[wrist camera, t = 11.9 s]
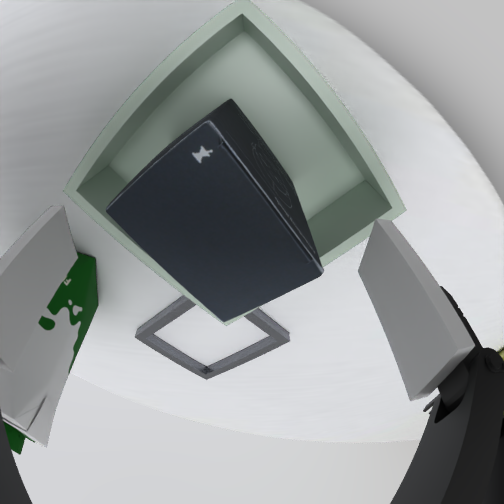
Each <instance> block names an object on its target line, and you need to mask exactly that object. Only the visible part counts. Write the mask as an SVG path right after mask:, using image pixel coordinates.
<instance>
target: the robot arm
mask: <svg viewBox="0 0 504 504" xmlns="http://www.w3.org/2000/svg"><path fill="white" fill-rule="evenodd" d="M77 259H78V256H77V252H76V249H75V246H74V242H73V239H72V236H71V232H70V228H69V224H68V221H67V217H66V212H65V208H64V206H51V207H50V208H49V209H48V210H47V211H46V212H44V213H43V214H42V215H41V216H40V217H39V218H38V219H37V220H36V221H35V222H34V223H33V224H32V225H31V226H30V227H29V228H28V229H27V230H26V231H25V232H24V233H23V234H22V235H21V237H20V238H19V239H18V240H17V241H16V242H15V243H14V244H13V245H12V246H11V247H10V249H9V250H8V251H7V252H6V253H5V254H4V255H3V257H2V258H1V259H0V367H1V368H3V369H6V370H8V371H10V372H12V373H13V372H14V370H15V368H16V366H17V363H18V361H19V359H20V357H21V355H22V353H23V351H24V349H25V346H26V344H27V342H28V340H29V339H30V337H31V335H32V333H33V331H34V329H35V327H36V325H37V323H38V322H39V320H40V318H41V316H42V314H43V313H44V311H45V309H46V307H47V306H48V304H49V302H50V301H51V299H52V297H53V296H54V294H55V292H56V291H57V289H58V287H59V286H60V284H61V283H62V281H63V280H64V278H65V276H66V275H67V273H68V272H69V270H70V269H71V267H72V266H73V264H74V263H75V261H76V260H77ZM358 273H359V275H360V277H361V279H362V281H363V283H364V286H365V288H366V290H367V292H368V294H369V297H370V299H371V301H372V303H373V306H374V308H375V310H376V313H377V315H378V317H379V320H380V322H381V324H382V327H383V329H384V332H385V334H386V336H387V339H388V341H389V344H390V347H391V349H392V352H393V354H394V357H395V360H396V362H397V365H398V368H399V370H400V373H401V376H402V379H403V381H404V384H405V387H406V390H407V393H408V396H409V399H410V401H412V400H416V399H420V398H424V397H427V396H428V395H430V394H431V393H432V392H433V391H434V390H435V389H436V388H437V387H438V390H439V392H440V394H439V395H438V396H437V397H435V398H434V399H433V400H432V401H431V402H430V403H429V404H428V405H427V406H426V407H425V408H424V410H423V411H424V412H426V411H427V410H428V409H429V408H431V407H432V406H433V407H432V411H430V412H429V414H430V417H429V419H428V422H427V425H426V428H425V431H424V433H423V436H422V438H421V441H420V443H419V446H418V448H417V451H416V453H415V455H414V458H413V460H412V462H411V464H410V466H409V469H408V471H407V473H406V475H405V477H404V479H403V481H402V483H401V485H400V487H399V489H398V490H397V492H396V494H395V496H394V498H393V500H392V501H391V503H390V504H504V360H503V358H502V357H501V356H500V354H499V353H498V352H496V351H495V350H494V349H491V348H483V347H482V346H481V344H480V342H479V340H478V338H477V337H476V335H475V333H474V331H473V330H472V328H471V326H470V325H469V323H468V321H467V319H466V318H465V317H463V313H462V311H461V310H460V308H458V305H457V303H456V302H455V300H454V299H453V297H452V296H451V295H450V294H449V293H448V292H447V291H446V290H445V289H444V288H443V287H442V286H439V284H438V283H437V281H436V280H435V279H434V277H433V276H432V274H431V273H430V271H429V270H428V268H427V267H426V266H425V264H424V263H423V262H422V260H421V259H420V257H419V256H418V255H417V253H416V252H415V251H414V249H413V248H412V247H411V245H410V244H409V243H408V241H407V240H406V239H405V238H404V236H403V235H402V234H401V233H400V231H399V230H398V229H397V227H396V226H395V225H394V224H393V223H392V221H391V220H384V219H375V222H374V225H373V228H372V231H371V234H370V237H369V240H368V244H367V247H366V249H365V252H364V255H363V258H362V261H361V264H360V267H359V269H358ZM0 504H32V502H31V500H30V498H29V495H28V493H27V491H26V489H25V486H24V484H23V482H22V479H21V477H20V474H19V471H18V468H17V466H16V463H15V460H14V457H13V454H12V451H11V448H10V445H9V441H8V438H7V434H6V430H5V426H4V422H3V418H2V414H1V409H0Z"/></svg>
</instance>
